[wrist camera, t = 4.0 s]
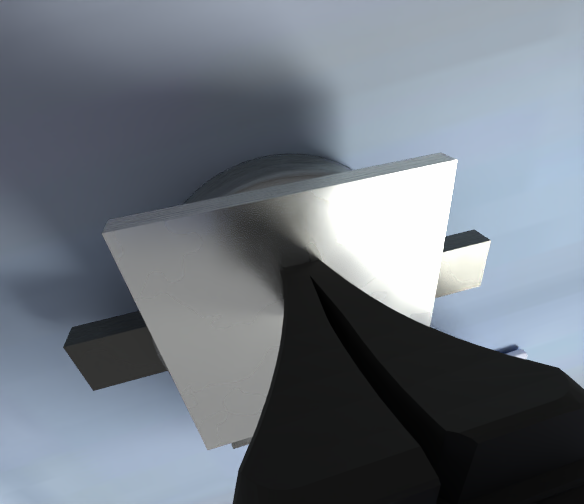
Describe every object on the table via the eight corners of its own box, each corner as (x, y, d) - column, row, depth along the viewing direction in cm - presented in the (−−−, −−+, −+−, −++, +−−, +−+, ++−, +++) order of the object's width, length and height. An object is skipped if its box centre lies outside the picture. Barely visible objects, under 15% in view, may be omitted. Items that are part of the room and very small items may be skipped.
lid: (410, 380, 17) (428, 409, 16) (211, 441, 16) (213, 478, 14) (441, 152, 11) (476, 168, 9) (108, 219, 9) (93, 249, 8)
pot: (430, 329, 21) (464, 370, 18) (150, 409, 18) (143, 469, 16) (462, 119, 14) (523, 135, 11) (29, 200, 12) (-18, 244, 9)
